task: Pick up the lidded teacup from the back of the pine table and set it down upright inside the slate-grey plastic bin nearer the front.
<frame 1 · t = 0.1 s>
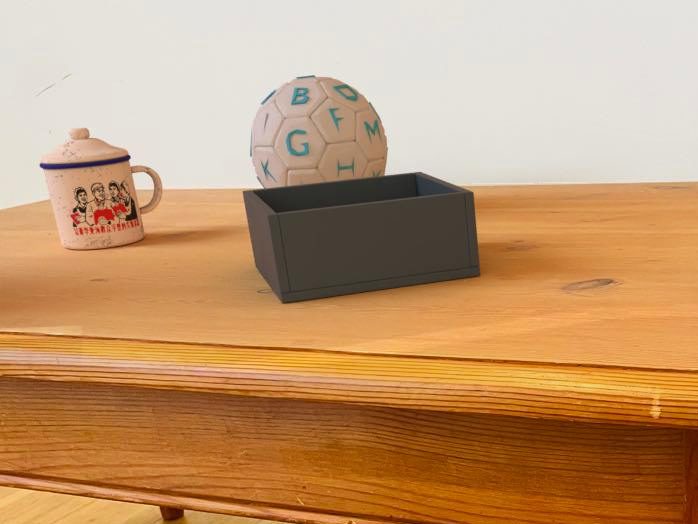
teacup with lid: (118, 242, 118), on the table
bin: (362, 271, 95), on the table
puzzle ball: (329, 220, 123), on the table
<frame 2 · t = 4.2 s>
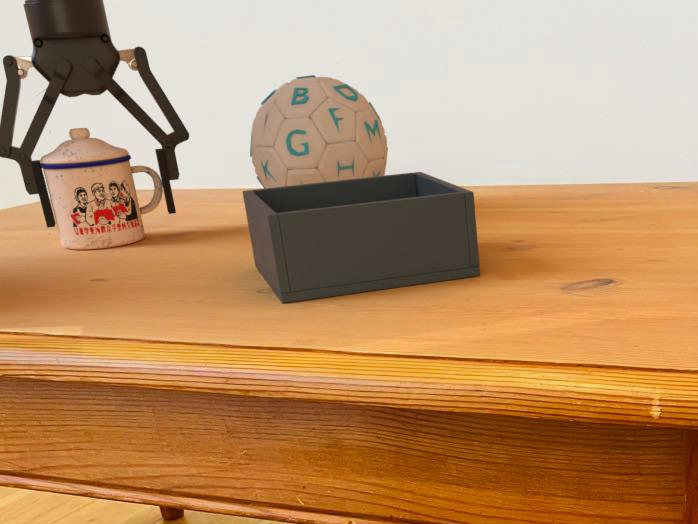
hand: (112, 218, 117), 2 cm above the table, tool pointing down, fingers closed on teacup with lid, 12 cm apart
teacup with lid: (118, 242, 118), on the table, touching gripper
everything else where it was.
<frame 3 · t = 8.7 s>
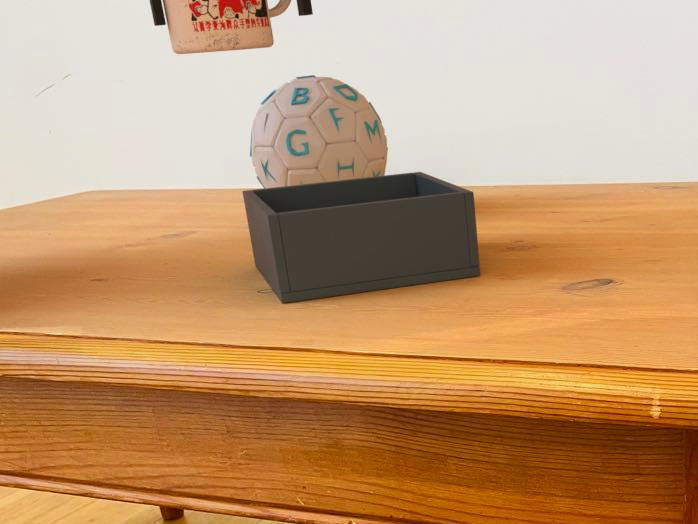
hand: (234, 20, 93), 21 cm above the table, tool pointing down, fingers closed on teacup with lid, 12 cm apart
teacup with lid: (240, 51, 94), point 18 cm above the table, touching gripper
everything else where it was.
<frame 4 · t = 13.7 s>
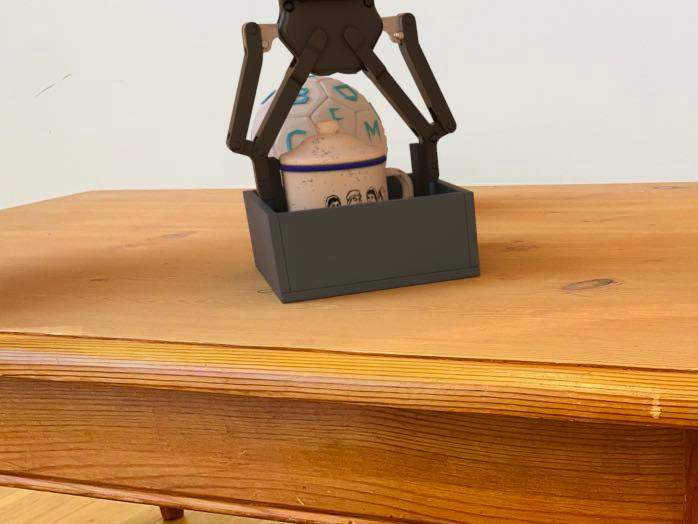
hand: (355, 230, 93), 4 cm above the table, tool pointing down, fingers closed on teacup with lid, 12 cm apart
teacup with lid: (360, 262, 94), point 1 cm above the table, touching gripper
everything else where it was.
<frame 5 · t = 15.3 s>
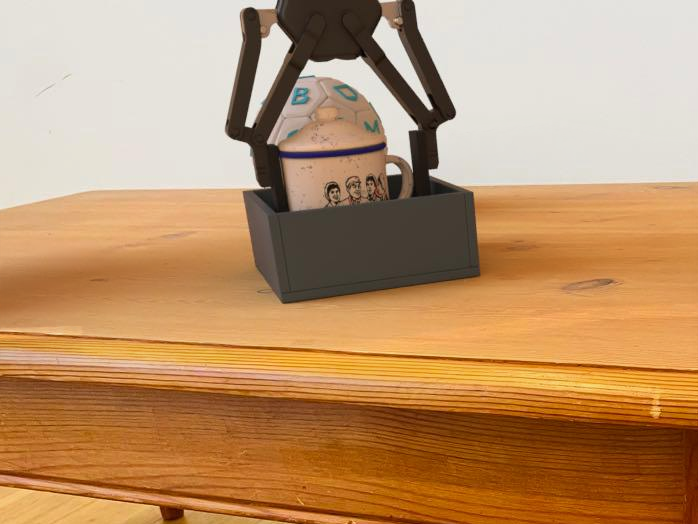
hand: (355, 218, 93), 5 cm above the table, tool pointing down, fingers closed on teacup with lid, 12 cm apart
teacup with lid: (360, 250, 94), point 2 cm above the table, touching gripper
everything else where it was.
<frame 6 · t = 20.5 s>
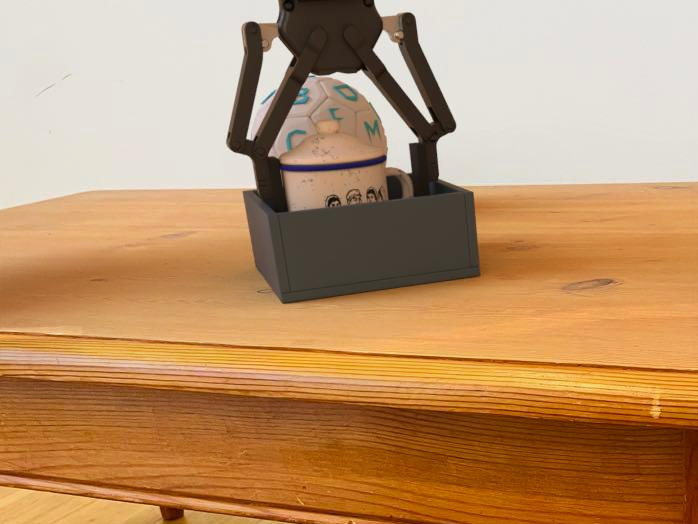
hand: (355, 230, 93), 4 cm above the table, tool pointing down, fingers closed on teacup with lid, 12 cm apart
teacup with lid: (360, 262, 94), point 1 cm above the table, touching gripper
everything else where it was.
when the fingers open (4 cm above the table, at t = 25.3 s): teacup with lid stays where it is, resting on bin.
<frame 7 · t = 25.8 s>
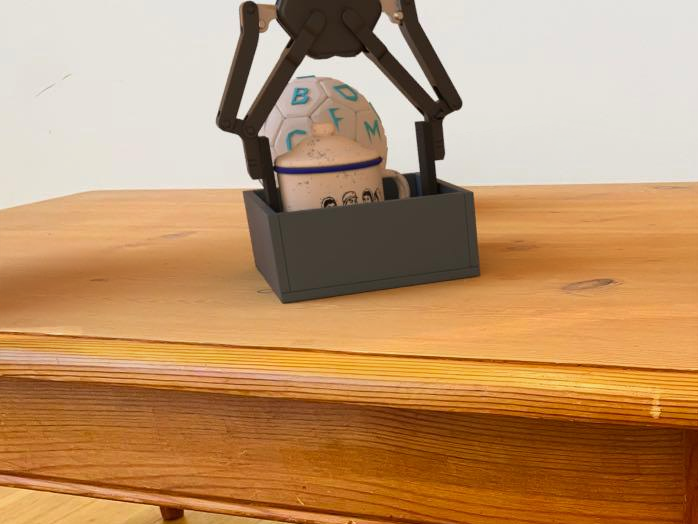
hand: (354, 210, 92), 5 cm above the table, tool pointing down, fingers open, 13 cm apart
teacup with lid: (357, 264, 94), point 1 cm above the table, touching bin
everything else where it was.
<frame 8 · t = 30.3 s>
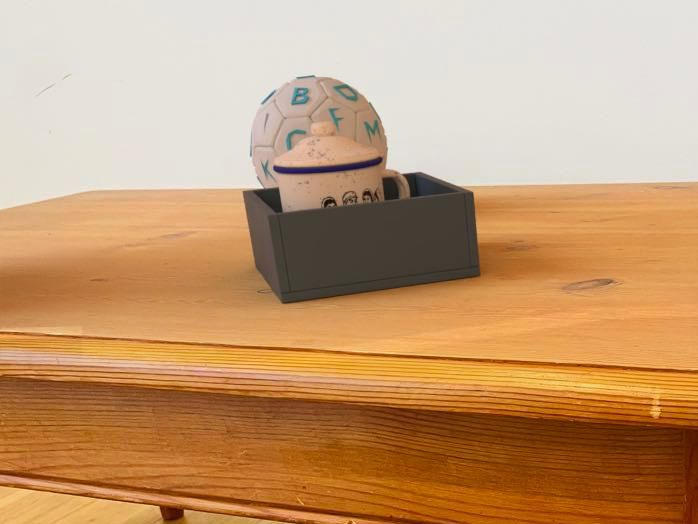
nothing on the table moved.
at the end: teacup with lid inside the target area in the bin (0.4 cm from its centre), point 0.6 cm above the bin's base; teacup with lid tilted 0°; the gripper is holding nothing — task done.
